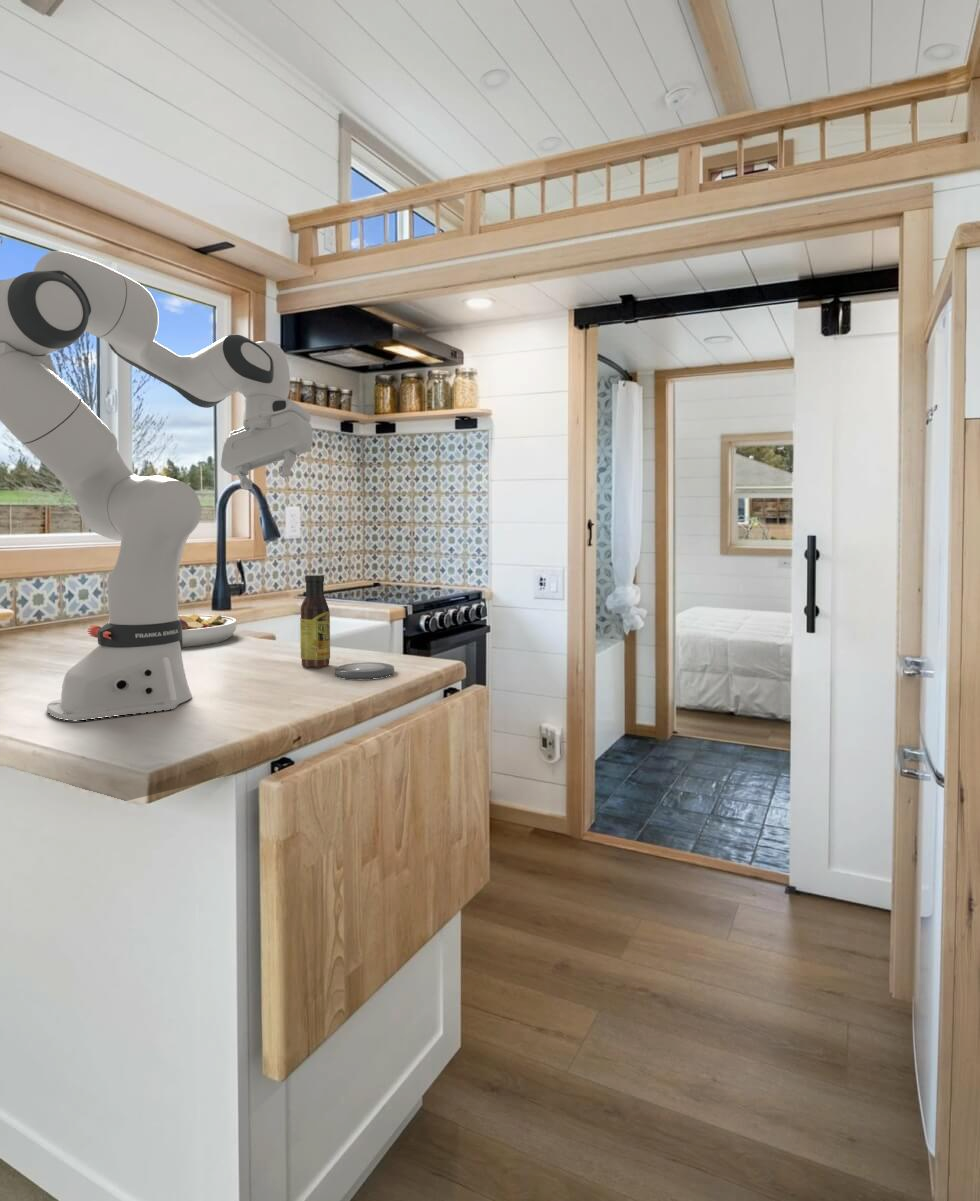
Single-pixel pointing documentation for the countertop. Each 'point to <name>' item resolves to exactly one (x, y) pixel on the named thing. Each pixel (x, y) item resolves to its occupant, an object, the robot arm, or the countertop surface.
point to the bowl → (206, 629)
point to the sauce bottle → (315, 624)
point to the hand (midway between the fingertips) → (265, 482)
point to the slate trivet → (364, 670)
